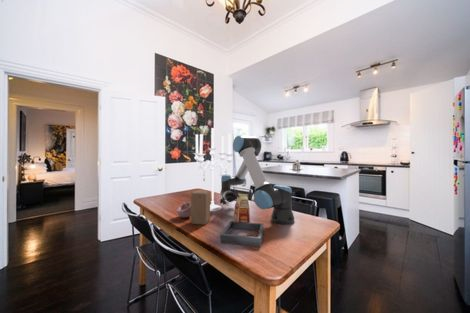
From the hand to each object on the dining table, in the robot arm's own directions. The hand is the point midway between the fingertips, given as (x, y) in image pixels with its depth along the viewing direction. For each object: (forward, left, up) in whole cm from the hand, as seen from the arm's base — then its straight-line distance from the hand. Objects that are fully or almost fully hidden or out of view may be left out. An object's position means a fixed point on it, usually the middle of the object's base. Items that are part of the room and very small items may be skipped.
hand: (237, 203), depth 130 cm
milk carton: (-5, +8, -11) cm, 14 cm away
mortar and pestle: (+36, +4, -11) cm, 38 cm away
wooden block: (+22, +10, -11) cm, 27 cm away
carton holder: (-9, +25, -11) cm, 29 cm away
